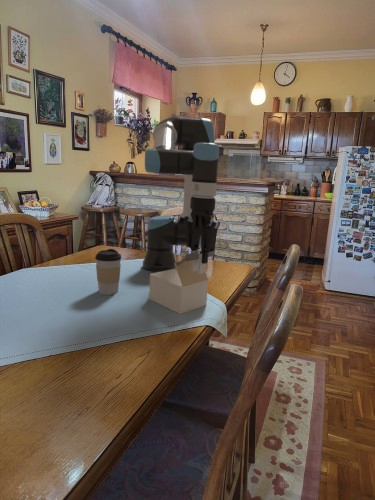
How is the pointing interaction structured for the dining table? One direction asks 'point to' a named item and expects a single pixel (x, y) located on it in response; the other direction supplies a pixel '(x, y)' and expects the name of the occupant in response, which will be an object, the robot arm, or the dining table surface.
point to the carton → (177, 292)
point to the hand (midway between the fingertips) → (198, 271)
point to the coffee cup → (108, 271)
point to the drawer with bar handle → (185, 271)
